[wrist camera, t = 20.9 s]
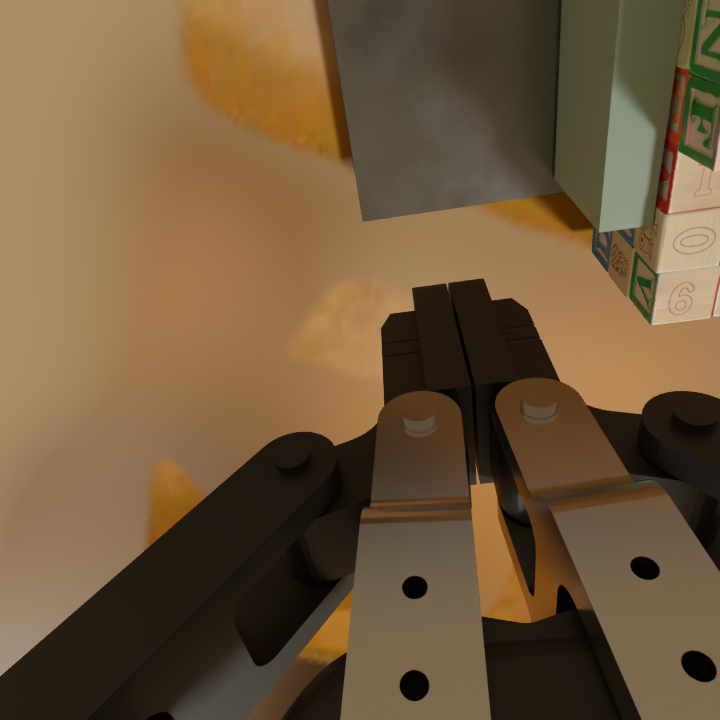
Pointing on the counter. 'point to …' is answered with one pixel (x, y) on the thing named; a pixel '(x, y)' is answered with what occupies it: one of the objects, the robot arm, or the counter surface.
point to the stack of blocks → (680, 192)
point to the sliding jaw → (615, 105)
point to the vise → (448, 100)
